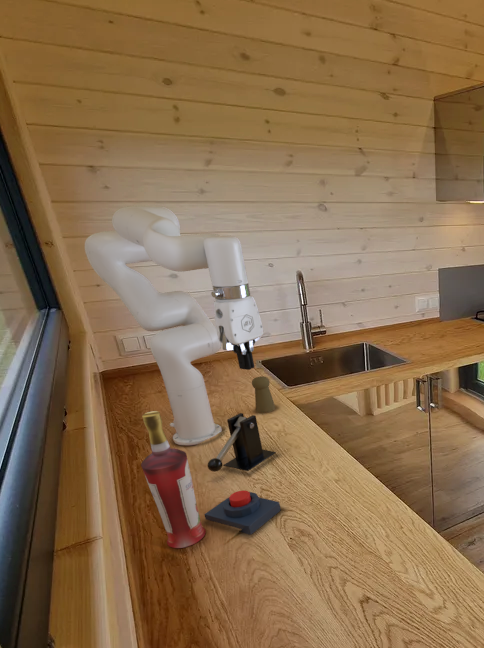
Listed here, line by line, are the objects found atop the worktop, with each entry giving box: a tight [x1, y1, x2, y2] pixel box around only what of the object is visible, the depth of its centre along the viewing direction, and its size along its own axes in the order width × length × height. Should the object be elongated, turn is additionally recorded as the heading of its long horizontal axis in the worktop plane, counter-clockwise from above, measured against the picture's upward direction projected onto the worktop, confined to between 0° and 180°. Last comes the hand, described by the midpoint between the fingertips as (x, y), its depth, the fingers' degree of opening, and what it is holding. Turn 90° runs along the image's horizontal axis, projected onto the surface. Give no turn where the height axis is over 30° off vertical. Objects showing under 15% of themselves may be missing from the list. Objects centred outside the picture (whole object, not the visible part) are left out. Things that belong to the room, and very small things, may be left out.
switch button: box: [228, 490, 251, 507], centre depth 103 cm, size 4×4×2 cm
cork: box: [251, 375, 276, 414], centre depth 156 cm, size 6×6×11 cm
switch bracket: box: [222, 412, 277, 472], centre depth 124 cm, size 10×8×13 cm
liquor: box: [140, 410, 207, 549], centre depth 92 cm, size 7×7×28 cm
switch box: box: [204, 491, 282, 536], centre depth 104 cm, size 12×9×4 cm
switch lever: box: [207, 416, 247, 473], centre depth 119 cm, size 15×3×3 cm
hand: (247, 368), depth 119 cm, fingers closed
